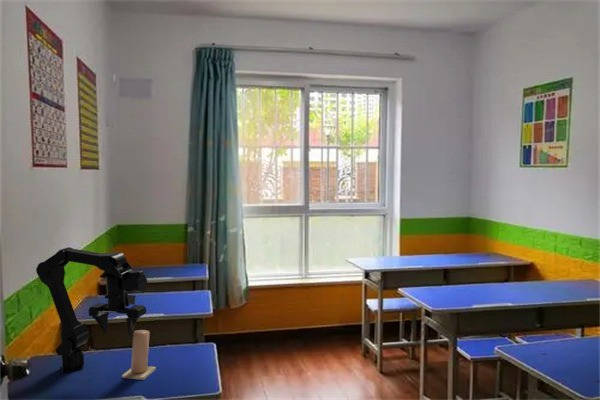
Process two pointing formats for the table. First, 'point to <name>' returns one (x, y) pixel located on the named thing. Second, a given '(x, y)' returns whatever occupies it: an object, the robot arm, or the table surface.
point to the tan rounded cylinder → (140, 351)
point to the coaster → (139, 375)
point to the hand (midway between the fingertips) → (118, 334)
